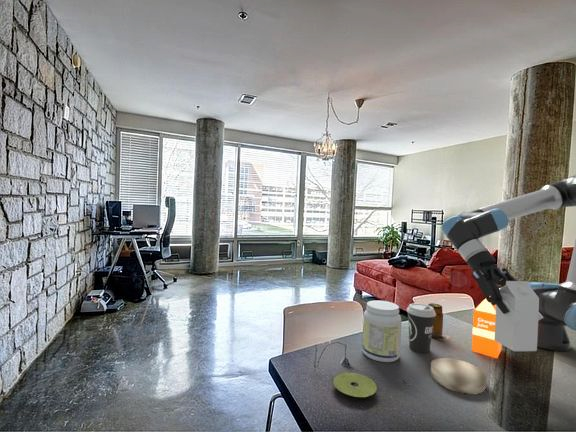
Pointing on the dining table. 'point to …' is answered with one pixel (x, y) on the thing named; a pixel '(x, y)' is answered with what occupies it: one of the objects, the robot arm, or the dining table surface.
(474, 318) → the orange juice
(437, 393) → the dining table surface
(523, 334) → the milk carton
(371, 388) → the green disc
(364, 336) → the supplement tub
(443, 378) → the birch stand
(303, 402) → the dining table surface
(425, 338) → the coffee cup
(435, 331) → the condiment
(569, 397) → the dining table surface
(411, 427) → the dining table surface
